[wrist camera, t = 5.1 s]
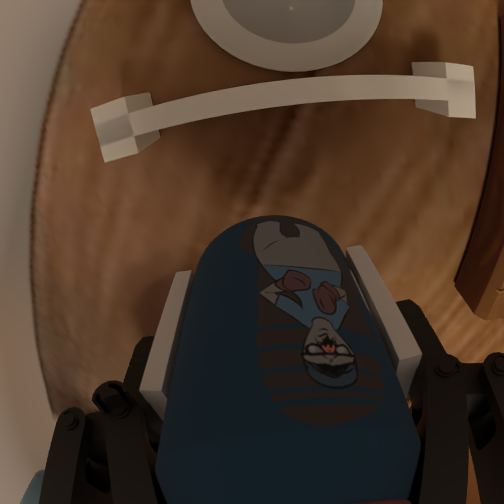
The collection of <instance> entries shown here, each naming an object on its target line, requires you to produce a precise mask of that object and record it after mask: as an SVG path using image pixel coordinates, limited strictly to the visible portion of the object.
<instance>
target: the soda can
mask: <svg viewBox="0 0 504 504" xmlns="http://www.w3.org/2000/svg"><path fill="white" fill-rule="evenodd" d="M420 451H421V442H420V438H419V435H418V432H417V429H416V426H415V424H414V421H413V418H412V415H411V412H410V409H409V406H408V404H407V401H406V398H405V396H404V393H403V390H402V388H401V385H400V382H399V380H398V377H397V375H396V372H395V369H394V367H393V364H392V362H391V359H390V357H389V354H388V352H387V350H386V347H385V345H384V342H383V340H382V338H381V335H380V333H379V330H378V328H377V326H376V324H375V321H374V319H373V317H372V314H371V312H370V310H369V308H368V305H367V303H366V301H365V299H364V297H363V294H362V292H361V290H360V288H359V286H358V284H357V281H356V279H355V277H354V275H353V273H352V271H351V269H350V267H349V265H348V263H347V261H346V258H345V256H344V254H343V252H342V251H341V249H340V247H339V246H338V244H337V243H336V242H335V241H334V239H333V238H332V237H331V236H330V235H329V234H327V233H326V232H325V231H324V230H322V229H321V228H319V227H317V226H316V225H314V224H312V223H309V222H307V221H305V220H302V219H298V218H294V217H289V216H279V215H270V216H260V217H255V218H251V219H248V220H245V221H242V222H240V223H237V224H235V225H233V226H231V227H230V228H228V229H226V230H225V231H224V232H222V233H221V234H220V235H218V236H217V237H216V238H215V239H214V240H213V241H212V242H211V243H210V244H209V246H208V247H207V248H206V250H205V251H204V253H203V255H202V256H201V258H200V261H199V263H198V266H197V270H196V274H195V278H194V282H193V286H192V290H191V294H190V298H189V302H188V307H187V311H186V315H185V319H184V324H183V328H182V333H181V337H180V342H179V346H178V351H177V355H176V360H175V365H174V369H173V374H172V379H171V384H170V389H169V394H168V399H167V404H166V409H165V414H164V420H163V425H162V431H161V436H160V442H159V448H158V453H157V459H156V465H155V473H156V477H157V480H158V482H159V485H160V487H161V490H162V492H163V495H164V497H165V499H166V502H167V504H412V503H411V502H410V501H408V499H409V496H410V492H411V489H412V485H413V481H414V478H415V474H416V470H417V465H418V461H419V456H420Z"/></svg>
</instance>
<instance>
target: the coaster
mask: <svg viewBox="0 0 504 504" xmlns="http://www.w3.org/2000/svg"><path fill="white" fill-rule="evenodd" d="M190 1H191V5H192V9H193V12H194V14H195V16H196V18H197V20H198V22H199V24H200V25H201V27H202V28H203V30H204V31H205V32H206V33H207V34H208V36H209V37H210V38H211V39H212V40H213V41H214V42H215V43H217V44H218V45H219V46H220V47H221V48H222V49H224V50H225V51H227V52H228V53H230V54H231V55H233V56H235V57H237V58H238V59H240V60H242V61H245V62H247V63H249V64H252V65H255V66H258V67H262V68H265V69H270V70H276V71H286V72H303V71H310V70H317V69H321V68H325V67H329V66H332V65H334V64H337V63H340V62H342V61H344V60H345V59H347V58H349V57H351V56H352V55H354V54H355V53H356V52H358V51H359V50H360V49H361V48H362V47H363V46H364V45H365V44H366V43H367V42H368V41H369V39H370V38H371V37H372V35H373V34H374V32H375V30H376V28H377V26H378V24H379V21H380V18H381V13H382V7H383V0H190Z"/></svg>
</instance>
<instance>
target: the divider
mask: <svg viewBox="0 0 504 504" xmlns="http://www.w3.org/2000/svg"><path fill="white" fill-rule="evenodd" d="M411 63H412V72H413V76H409V75H341V76H323V77H310V78H299V79H289V80H280V81H272V82H265V83H258V84H251V85H245V86H239V87H233V88H228V89H222V90H217V91H212V92H207V93H203V94H198V95H194V96H189V97H185V98H181V99H177V100H173V101H169V102H165V103H162V104H158V105H154V106H153V103H152V99H151V94H150V92H148V93H142V94H136V95H130V96H125V97H122V98H119V99H116V100H113V101H110V102H108V103H105V104H102V105H99V106H97V107H94V108H92V109H90V110H91V114H92V118H93V122H94V126H95V129H96V133H97V137H98V141H99V144H100V148H101V151H102V155H103V158H104V162H105V163H106V162H109V161H113V160H116V159H120V158H123V157H127V156H130V155H134V154H138V153H140V152H141V151H142V150H144V149H145V148H147V147H148V146H150V145H151V144H152V143H154V142H155V141H157V140H158V139H160V138H161V137H160V133H159V129H163V128H167V127H171V126H175V125H179V124H184V123H188V122H193V121H197V120H202V119H207V118H212V117H217V116H222V115H227V114H233V113H239V112H244V111H251V110H257V109H264V108H271V107H279V106H287V105H295V104H305V103H315V102H327V101H342V100H362V99H415V107H416V108H420V109H424V110H427V111H431V112H434V113H438V114H441V115H444V116H448V117H462V118H476V109H475V85H474V71H473V66H468V65H462V64H455V63H447V62H411Z"/></svg>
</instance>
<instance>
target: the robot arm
mask: <svg viewBox="0 0 504 504" xmlns="http://www.w3.org/2000/svg"><path fill="white" fill-rule="evenodd" d="M346 261H347V263H348V265H349V267H350V269H351V271H352V273H353V275H354V277H355V279H356V281H357V284H358V286H359V288H360V290H361V292H362V294H363V297H364V299H365V301H366V303H367V305H368V308H369V310H370V312H371V314H372V317H373V319H374V321H375V324H376V326H377V328H378V330H379V333H380V335H381V338H382V340H383V342H384V345H385V347H386V350H387V352H388V354H389V357H390V359H391V362H392V364H393V367H394V369H395V372H396V375H397V377H398V380H399V382H400V385H401V388H402V390H403V393H404V396H405V398H406V399H407V396H408V394H409V397H410V399H411V402H412V404H411V407H410V412H411V415H412V418H413V421H414V424H415V426H416V429H417V432H418V435H419V438H420V442H421V451H420V456H419V461H418V465H417V470H416V474H415V478H414V481H413V485H412V489H411V492H410V496H409V499H408V501H410V502H411V503H412V504H466V497H467V484H468V459H469V458H468V457H469V454H468V453H469V448H470V452H471V456H472V460H473V465H474V470H475V474H476V479H477V484H478V490H479V495H480V501H481V504H504V354H503V353H500V352H496V353H492V354H490V355H488V356H487V357H486V359H485V360H484V362H483V363H461V362H460V361H459V360H458V359H457V358H456V357H454V356H452V355H450V354H447V353H446V351H445V350H444V348H443V346H442V344H441V343H440V341H439V339H438V337H437V335H436V334H435V332H434V330H433V329H432V327H431V325H429V322H428V320H427V318H425V315H424V313H423V312H422V310H421V308H420V307H419V306H418V305H417V304H415V303H414V302H413V301H411V300H410V299H408V300H403V301H399V302H395V301H394V299H393V297H392V295H391V294H390V292H389V290H388V288H387V287H386V285H385V283H384V281H383V280H382V278H381V276H380V274H379V273H378V271H377V269H376V268H375V266H374V264H373V263H372V261H371V259H370V258H369V256H368V254H367V253H366V251H365V249H364V248H363V246H362V245H358V246H352V247H346ZM193 282H194V276H193V273H192V270H188V271H181V272H176V274H175V277H174V279H173V282H172V285H171V288H170V291H169V294H168V297H167V300H166V303H165V306H164V309H163V312H162V316H161V319H160V322H159V325H158V328H157V331H156V335H155V336H149V337H143V338H142V339H141V340H140V341H139V342H138V344H137V345H136V346H135V349H134V352H133V355H132V358H131V361H130V364H129V365H130V366H128V369H127V372H126V375H125V379H124V382H123V383H122V382H120V381H116V380H114V381H107V382H105V383H103V384H101V385H100V386H99V387H98V388H97V389H96V390H95V392H94V393H93V396H92V402H93V403H94V404H95V405H96V406H97V407H98V408H99V409H100V411H98V412H94V413H90V414H85V413H84V412H83V411H82V410H81V409H79V408H75V407H73V408H68V409H67V410H65V411H63V412H62V414H61V415H60V416H59V418H58V420H57V423H56V426H55V430H54V434H53V438H52V442H51V446H50V450H49V454H48V458H47V463H46V468H45V470H39V471H38V472H37V473H36V474H35V475H34V477H33V479H32V480H31V482H30V484H29V486H28V488H27V490H26V492H25V494H24V496H23V498H22V500H21V502H20V504H167V502H166V499H165V497H164V495H163V492H162V490H161V487H160V485H159V482H158V480H157V477H156V473H155V465H156V459H157V453H158V448H159V442H160V436H161V431H162V425H163V420H164V414H165V409H166V404H167V399H168V394H169V389H170V384H171V379H172V374H173V369H174V365H175V360H176V355H177V351H178V346H179V342H180V337H181V333H182V328H183V324H184V319H185V315H186V311H187V307H188V302H189V298H190V294H191V290H192V286H193Z"/></svg>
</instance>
